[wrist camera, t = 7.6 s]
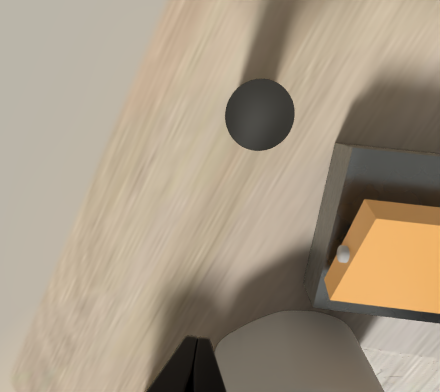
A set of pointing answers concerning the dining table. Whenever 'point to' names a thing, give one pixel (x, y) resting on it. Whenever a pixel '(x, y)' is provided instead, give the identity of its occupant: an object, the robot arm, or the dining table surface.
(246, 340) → the lumpy-topped squat cylinder
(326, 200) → the block
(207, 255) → the dining table surface
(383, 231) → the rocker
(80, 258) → the dining table surface
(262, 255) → the dining table surface
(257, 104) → the post
